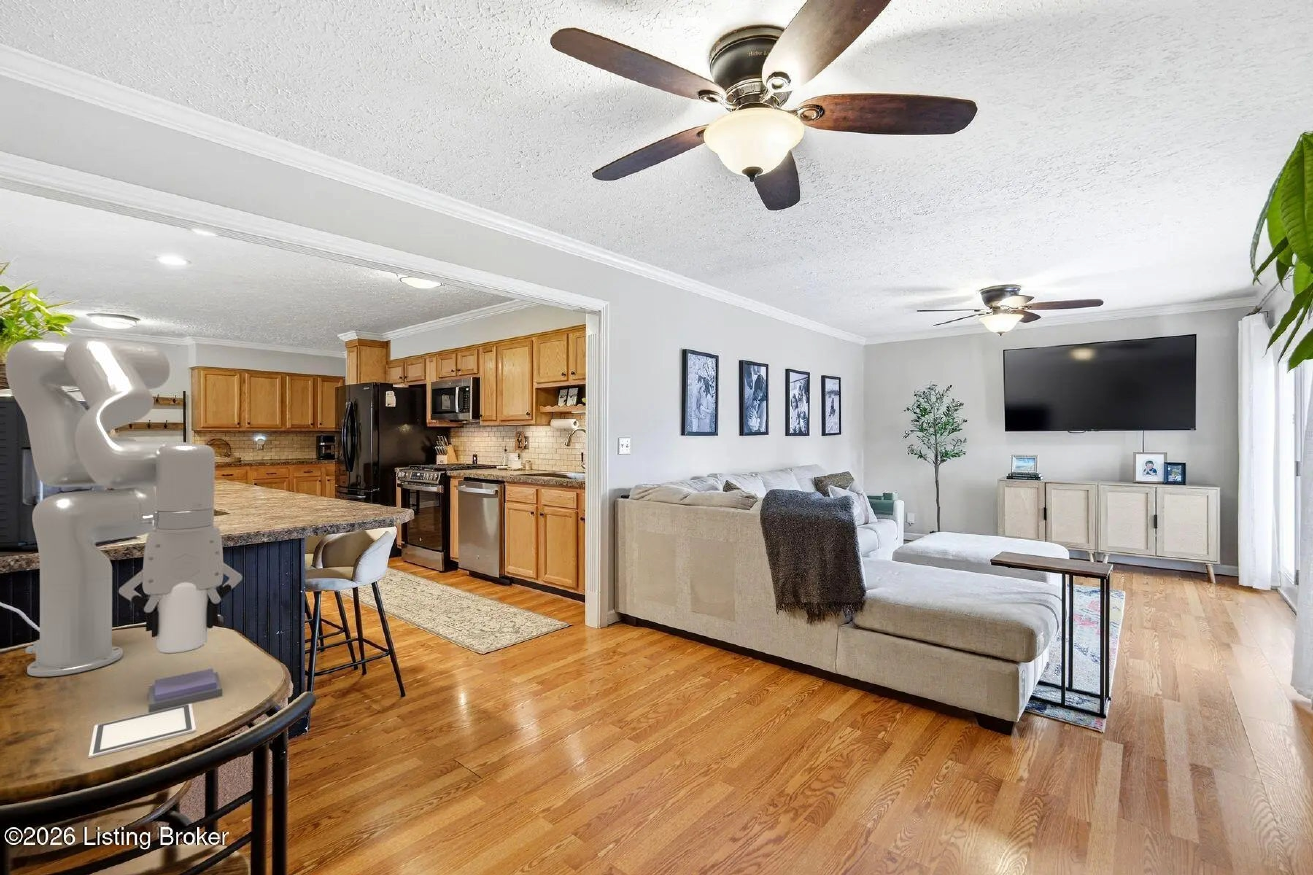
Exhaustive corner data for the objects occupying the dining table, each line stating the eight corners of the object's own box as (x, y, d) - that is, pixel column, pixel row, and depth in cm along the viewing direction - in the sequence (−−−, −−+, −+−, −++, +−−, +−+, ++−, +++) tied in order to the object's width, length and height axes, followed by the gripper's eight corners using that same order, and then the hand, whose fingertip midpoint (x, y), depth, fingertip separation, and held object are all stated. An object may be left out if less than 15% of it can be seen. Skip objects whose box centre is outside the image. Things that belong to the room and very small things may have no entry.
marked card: (88, 758, 77) (88, 755, 77) (94, 727, 86) (94, 724, 86) (195, 731, 85) (195, 728, 85) (191, 705, 93) (191, 702, 93)
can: (149, 656, 93) (151, 579, 93) (164, 642, 99) (165, 570, 99) (200, 651, 96) (202, 576, 95) (211, 638, 101) (213, 567, 101)
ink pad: (148, 712, 90) (148, 697, 90) (148, 693, 97) (148, 679, 97) (222, 695, 96) (222, 682, 96) (217, 678, 103) (217, 666, 103)
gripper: (111, 527, 89) (109, 648, 89) (252, 519, 100) (249, 626, 100) (113, 521, 94) (111, 634, 94) (246, 513, 105) (244, 615, 106)
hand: (182, 629), depth 97 cm, fingers closed on can, 6 cm apart
